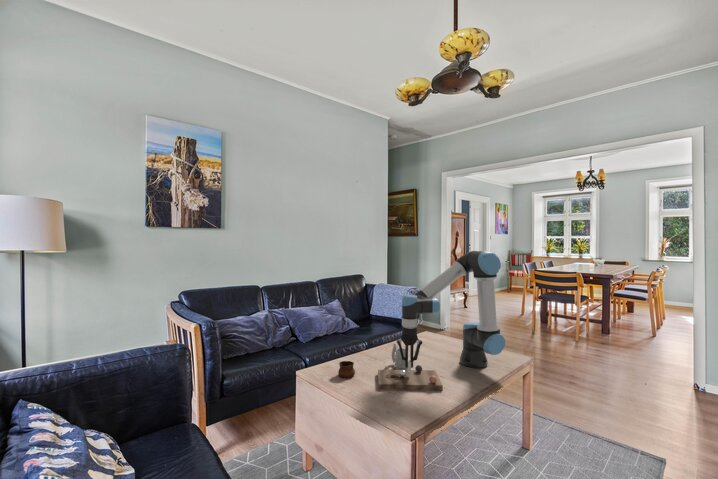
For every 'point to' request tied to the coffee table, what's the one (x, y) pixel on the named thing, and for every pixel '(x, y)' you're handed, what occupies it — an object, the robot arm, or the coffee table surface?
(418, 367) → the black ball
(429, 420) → the coffee table surface
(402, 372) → the steel ball
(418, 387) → the deck
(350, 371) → the ceramic pot
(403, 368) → the mug
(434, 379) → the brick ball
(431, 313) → the robot arm
